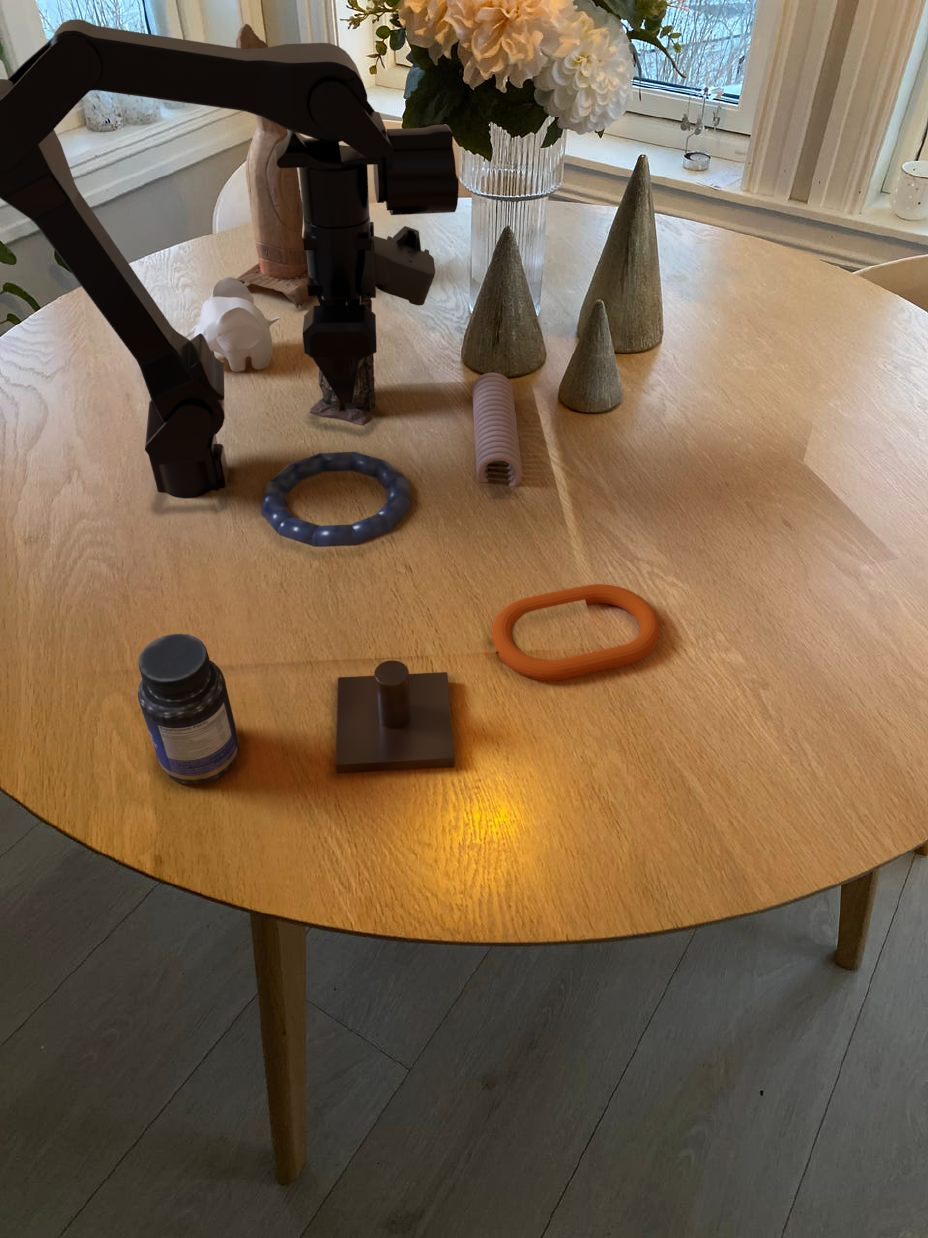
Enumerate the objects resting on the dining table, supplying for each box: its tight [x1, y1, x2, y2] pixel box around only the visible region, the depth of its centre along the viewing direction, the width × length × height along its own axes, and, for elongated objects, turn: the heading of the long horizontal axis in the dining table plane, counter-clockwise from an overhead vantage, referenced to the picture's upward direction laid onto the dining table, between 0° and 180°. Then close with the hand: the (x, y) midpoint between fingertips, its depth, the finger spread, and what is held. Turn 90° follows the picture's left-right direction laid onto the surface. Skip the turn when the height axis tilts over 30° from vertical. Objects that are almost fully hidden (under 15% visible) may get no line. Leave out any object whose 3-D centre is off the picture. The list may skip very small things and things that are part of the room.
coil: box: [471, 372, 523, 488], centre depth 104 cm, size 5×5×18 cm
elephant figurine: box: [184, 276, 281, 373], centre depth 116 cm, size 10×12×9 cm
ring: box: [260, 451, 412, 548], centre depth 96 cm, size 15×15×2 cm
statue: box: [308, 298, 378, 426], centre depth 103 cm, size 7×7×20 cm
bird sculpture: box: [235, 23, 315, 310], centre depth 123 cm, size 11×12×32 cm
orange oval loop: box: [491, 583, 661, 681], centre depth 83 cm, size 10×2×15 cm
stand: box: [335, 659, 456, 775], centre depth 74 cm, size 9×9×6 cm
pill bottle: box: [137, 633, 240, 785], centre depth 70 cm, size 6×6×11 cm
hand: (347, 378), depth 94 cm, fingers open, 9 cm apart
